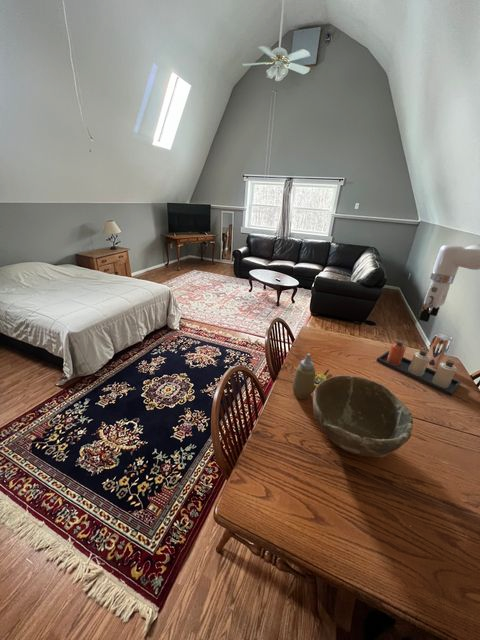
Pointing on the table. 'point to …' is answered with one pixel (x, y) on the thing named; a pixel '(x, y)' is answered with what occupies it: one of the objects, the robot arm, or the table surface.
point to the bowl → (361, 415)
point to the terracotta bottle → (396, 353)
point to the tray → (423, 379)
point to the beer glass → (438, 349)
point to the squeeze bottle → (304, 378)
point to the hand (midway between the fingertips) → (427, 317)
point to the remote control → (319, 379)
